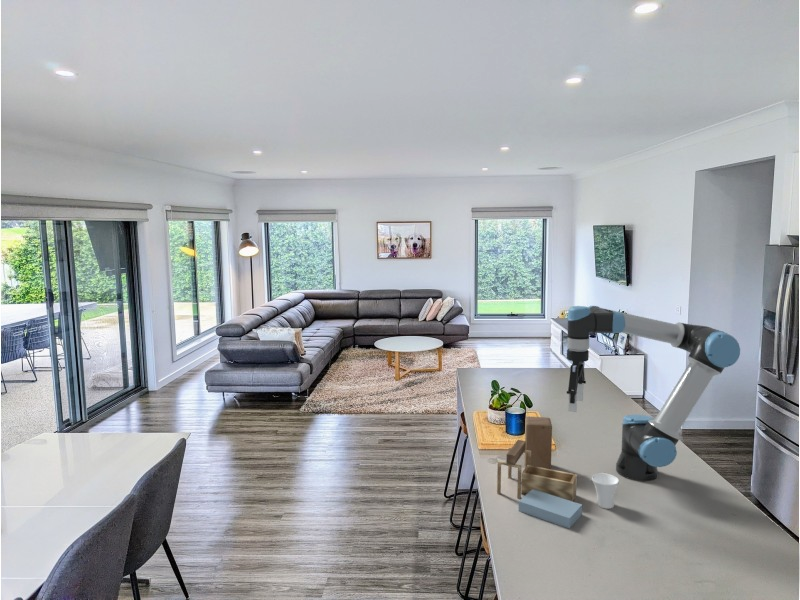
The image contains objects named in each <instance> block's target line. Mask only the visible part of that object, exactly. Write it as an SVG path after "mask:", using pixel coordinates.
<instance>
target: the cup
mask: <svg viewBox="0 0 800 600" xmlns="http://www.w3.org/2000/svg"><path fill="white" fill-rule="evenodd" d="M591 481H592V482H593V484H594V487H595V491H596V504H597V506H598V507H600V508H602V509H607V510H608V509H613V508H614V507H615V495H616V494H615V493H616V490H617V487H618V485H619V483H620V480H619V478H618V477H617V476H616V475H612V474H610V473H606V472H600V473H599V472H598V473H594V474H593V475H592V476H591Z"/></svg>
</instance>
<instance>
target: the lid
mask: <svg viewBox="0 0 800 600" xmlns="http://www.w3.org/2000/svg"><path fill="white" fill-rule="evenodd" d="M518 511H519V512H520V511H521V513H523V514H526V515H530V516H532V517H535V518H538V519H541V520H544V521H545V522H546V521H547V522H549V523H552V524H555V525H558V526H560V527H563V528H567V529H570V528H571V527H572V526H573V525H574V524H575V523H576V522H577V521H578V519H580V518H581V516H582V515H583V504H582V503H578V502H576V501H574V502H572V501H569V500H566V499H563V498H560V497H556V496H553V495H550V494H547V493H544V492H541V491H537V490H534V489H532V490H531V491H530V492H529V493H528V494H526V495H523V497H521V498H520V499H519V500H518Z"/></svg>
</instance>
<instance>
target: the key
mask: <svg viewBox="0 0 800 600" xmlns="http://www.w3.org/2000/svg"><path fill="white" fill-rule="evenodd" d="M525 450H526V441H525V440H522V439H517V440H516V442H515V443H514V444H513V445H512V448H511V449H510V451H509V450H508V452H507V453H506V462H507V464H512V465H515V464H517V462H519V460H520V458H521V456H522V455H523V454H525V453H524V451H525Z"/></svg>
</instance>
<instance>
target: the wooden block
mask: <svg viewBox="0 0 800 600" xmlns="http://www.w3.org/2000/svg"><path fill="white" fill-rule="evenodd" d="M524 424H525V427H524V429H525V430H524V441H526V450H528V451H531V466H536V467H541V468H546V469H551V470H552V448H553V447H552V442H553V441H552V440H553V425H552V420H551V418H550V417H544V416H543V417H541V416H525V423H524ZM527 465H528V453H524V469H525V468H526V466H527Z"/></svg>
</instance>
